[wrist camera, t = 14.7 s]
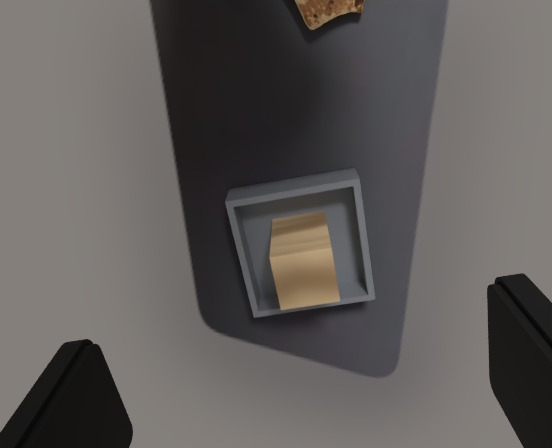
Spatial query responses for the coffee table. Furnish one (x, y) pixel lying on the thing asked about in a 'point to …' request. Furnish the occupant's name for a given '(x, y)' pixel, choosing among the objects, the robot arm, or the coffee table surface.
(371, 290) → the tray
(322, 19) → the shard
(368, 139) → the coffee table surface
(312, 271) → the oak block
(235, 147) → the coffee table surface
